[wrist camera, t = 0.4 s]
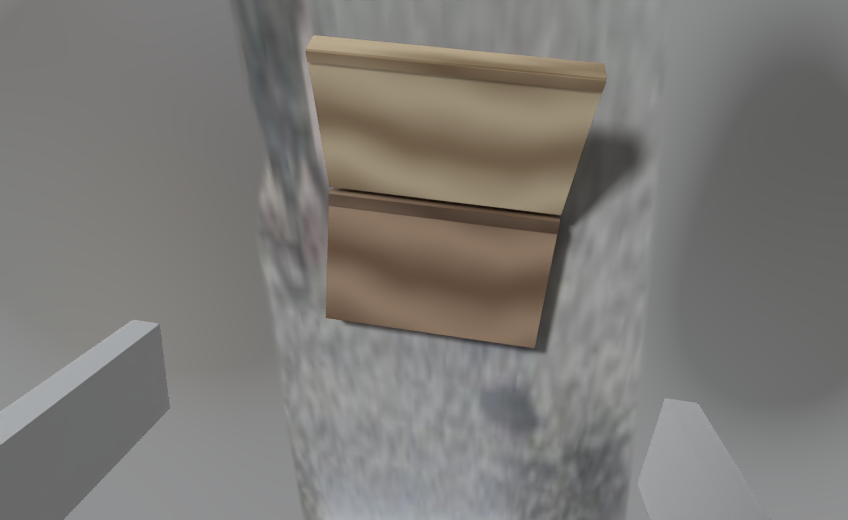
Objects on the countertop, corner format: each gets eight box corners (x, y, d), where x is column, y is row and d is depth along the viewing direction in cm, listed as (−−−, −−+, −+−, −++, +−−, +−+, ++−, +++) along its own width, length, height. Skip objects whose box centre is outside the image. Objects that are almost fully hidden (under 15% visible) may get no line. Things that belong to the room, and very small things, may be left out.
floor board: (335, 186, 36) (328, 191, 34) (557, 213, 35) (560, 219, 33) (332, 308, 40) (325, 318, 38) (532, 337, 38) (534, 348, 37)
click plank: (314, 35, 28) (305, 49, 27) (604, 63, 26) (606, 79, 25) (335, 172, 35) (328, 187, 34) (560, 200, 34) (561, 216, 33)
